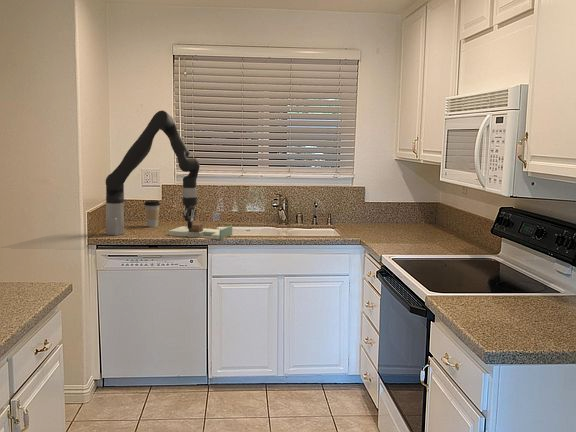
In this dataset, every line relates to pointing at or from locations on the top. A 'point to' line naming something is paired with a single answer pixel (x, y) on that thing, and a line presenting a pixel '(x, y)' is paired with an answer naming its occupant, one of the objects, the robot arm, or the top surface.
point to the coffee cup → (152, 213)
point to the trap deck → (202, 232)
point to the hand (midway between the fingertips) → (190, 228)
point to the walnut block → (196, 227)
